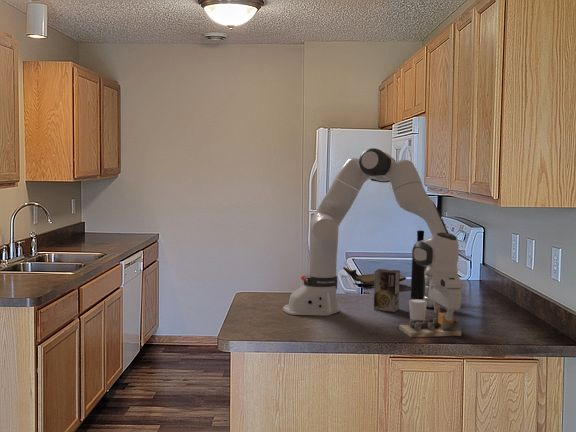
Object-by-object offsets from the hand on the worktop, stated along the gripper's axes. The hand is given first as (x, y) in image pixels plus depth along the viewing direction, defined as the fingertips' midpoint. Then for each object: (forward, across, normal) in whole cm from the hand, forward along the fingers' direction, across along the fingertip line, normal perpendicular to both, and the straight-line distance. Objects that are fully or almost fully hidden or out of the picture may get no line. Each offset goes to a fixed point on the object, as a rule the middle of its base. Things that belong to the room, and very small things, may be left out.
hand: (442, 316), depth 242 cm
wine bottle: (+6, -56, +14) cm, 58 cm away
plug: (+4, 0, -4) cm, 6 cm away
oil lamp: (+6, -86, +4) cm, 86 cm away
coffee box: (+6, -36, -8) cm, 37 cm away
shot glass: (+6, -20, -1) cm, 21 cm away
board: (+6, 0, -5) cm, 7 cm away
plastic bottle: (+6, -37, +12) cm, 39 cm away
